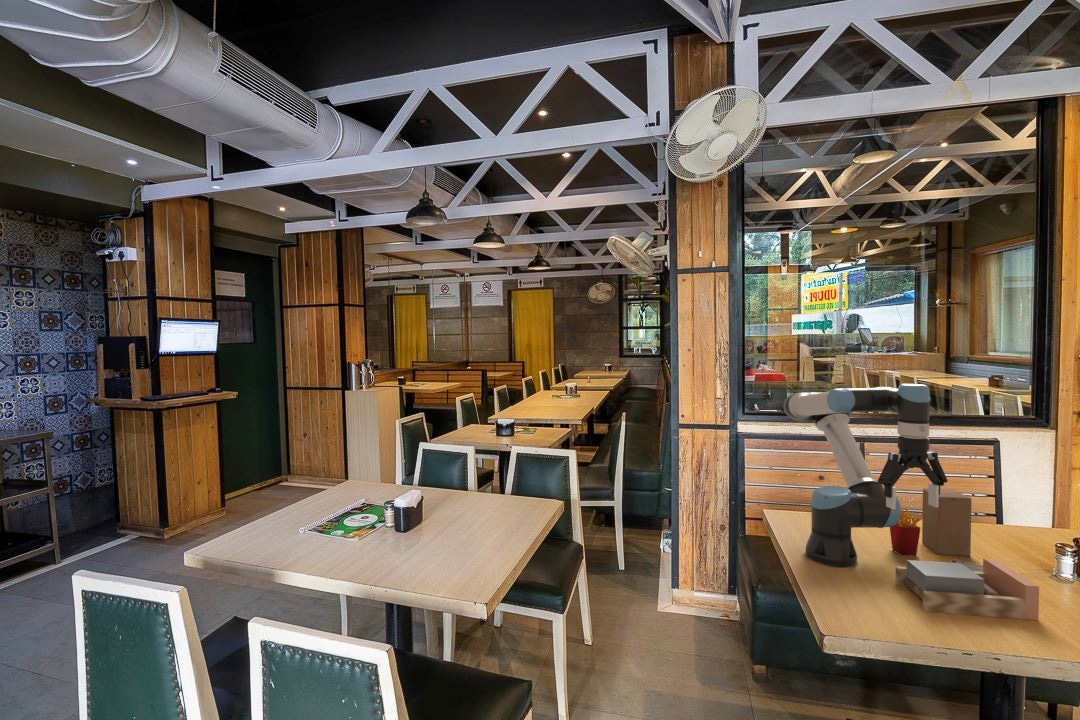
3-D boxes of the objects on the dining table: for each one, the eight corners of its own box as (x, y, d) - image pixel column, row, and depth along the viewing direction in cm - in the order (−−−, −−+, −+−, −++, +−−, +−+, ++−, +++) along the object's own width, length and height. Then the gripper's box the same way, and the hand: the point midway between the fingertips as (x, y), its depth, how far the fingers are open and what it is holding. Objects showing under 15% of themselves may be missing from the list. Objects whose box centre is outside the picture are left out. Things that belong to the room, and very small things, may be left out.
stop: (1024, 619, 132) (1025, 585, 131) (982, 588, 148) (983, 558, 147) (1038, 620, 131) (1039, 586, 131) (994, 589, 147) (995, 559, 147)
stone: (1014, 580, 153) (1014, 570, 153) (1016, 591, 147) (1016, 580, 147) (951, 566, 163) (951, 557, 163) (950, 576, 156) (950, 566, 156)
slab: (925, 593, 139) (925, 575, 139) (906, 576, 149) (906, 559, 148) (983, 597, 136) (984, 579, 136) (960, 580, 146) (961, 563, 146)
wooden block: (971, 556, 169) (972, 498, 168) (937, 554, 171) (938, 496, 170) (953, 544, 179) (954, 489, 178) (921, 542, 181) (922, 488, 180)
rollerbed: (925, 611, 136) (926, 593, 136) (895, 582, 152) (895, 566, 152) (1024, 619, 132) (1025, 600, 131) (982, 588, 148) (983, 571, 148)
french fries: (921, 556, 170) (921, 512, 169) (896, 556, 170) (896, 513, 169) (903, 546, 178) (903, 504, 178) (879, 546, 179) (880, 504, 178)
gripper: (883, 440, 144) (882, 513, 145) (963, 437, 146) (962, 509, 147) (864, 435, 152) (863, 504, 152) (941, 432, 154) (939, 500, 155)
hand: (912, 507), depth 150 cm, fingers open, 13 cm apart
